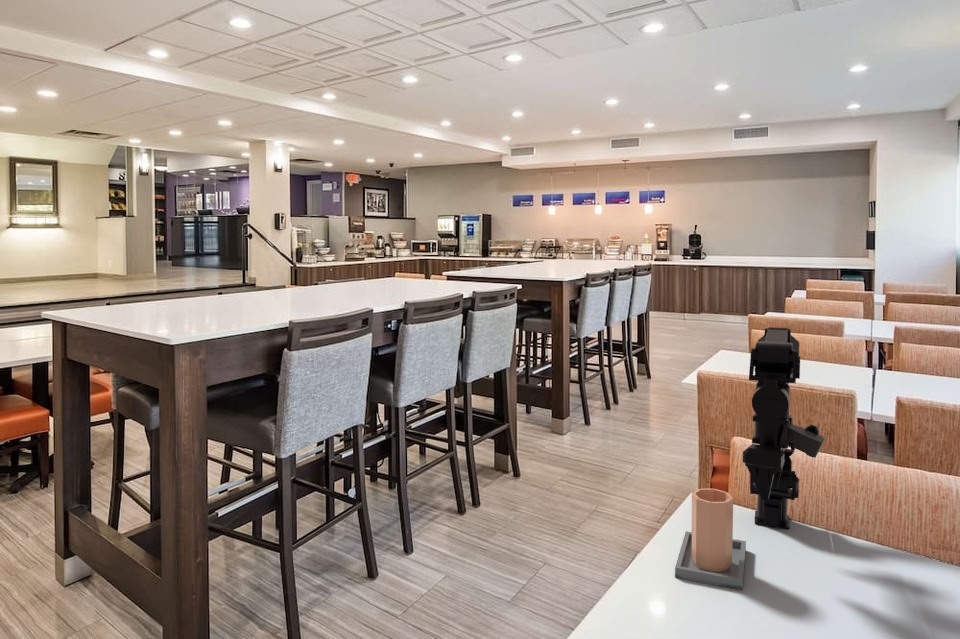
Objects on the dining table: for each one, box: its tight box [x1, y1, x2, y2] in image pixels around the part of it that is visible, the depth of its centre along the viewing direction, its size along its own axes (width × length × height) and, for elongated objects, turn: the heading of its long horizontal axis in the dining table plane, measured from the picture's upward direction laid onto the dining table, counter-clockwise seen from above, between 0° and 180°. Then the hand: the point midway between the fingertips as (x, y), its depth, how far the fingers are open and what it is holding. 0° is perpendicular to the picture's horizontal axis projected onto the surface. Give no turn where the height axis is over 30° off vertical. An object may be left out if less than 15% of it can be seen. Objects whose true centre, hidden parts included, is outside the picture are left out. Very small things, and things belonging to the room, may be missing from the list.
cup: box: [691, 488, 734, 573], centre depth 110 cm, size 6×6×13 cm
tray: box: [674, 531, 747, 591], centre depth 112 cm, size 15×11×2 cm
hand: (769, 493), depth 114 cm, fingers open, 9 cm apart
